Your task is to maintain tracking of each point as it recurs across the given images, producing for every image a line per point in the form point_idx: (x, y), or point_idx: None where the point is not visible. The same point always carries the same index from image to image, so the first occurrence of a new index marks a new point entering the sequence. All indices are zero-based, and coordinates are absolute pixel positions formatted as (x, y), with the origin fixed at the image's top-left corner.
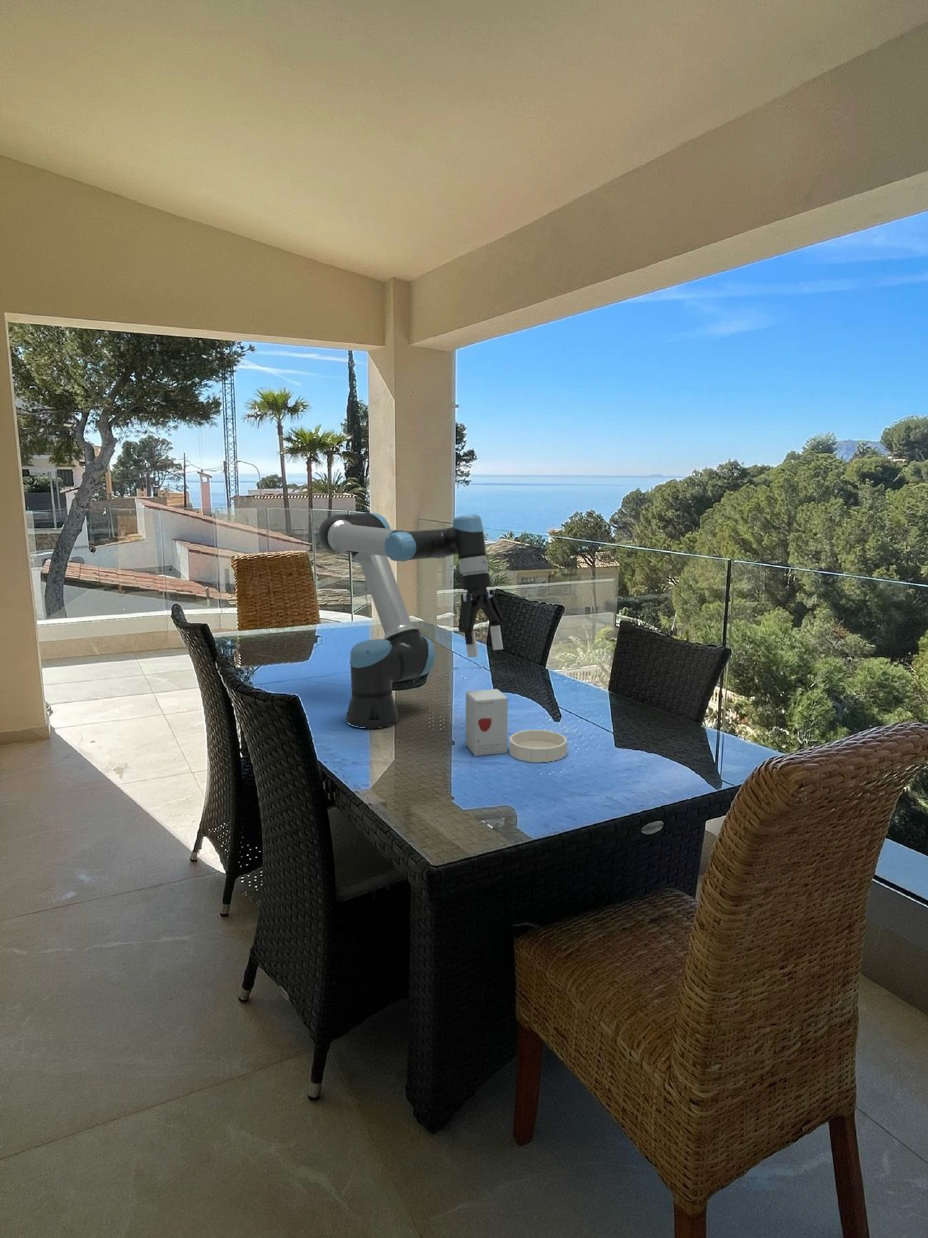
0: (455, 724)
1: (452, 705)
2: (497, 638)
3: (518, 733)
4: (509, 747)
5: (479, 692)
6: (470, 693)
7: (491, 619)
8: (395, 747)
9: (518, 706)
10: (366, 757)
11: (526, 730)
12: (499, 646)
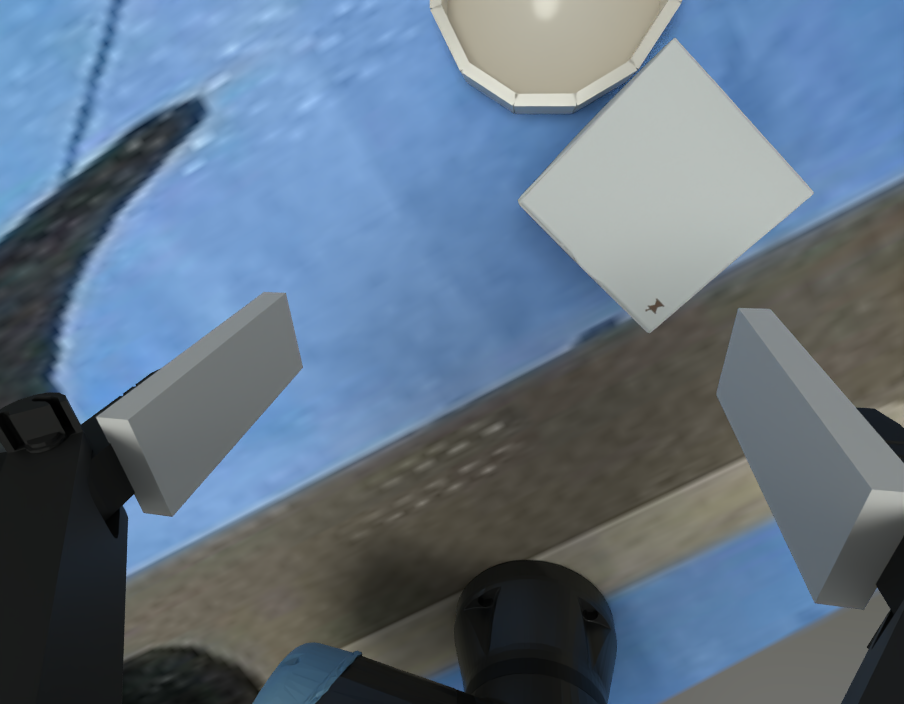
0: (430, 409)
1: (277, 499)
2: (237, 367)
3: (518, 94)
4: (581, 107)
5: (647, 252)
6: (685, 290)
7: (106, 558)
8: (719, 467)
9: (153, 314)
10: None
11: (474, 78)
12: (277, 321)
